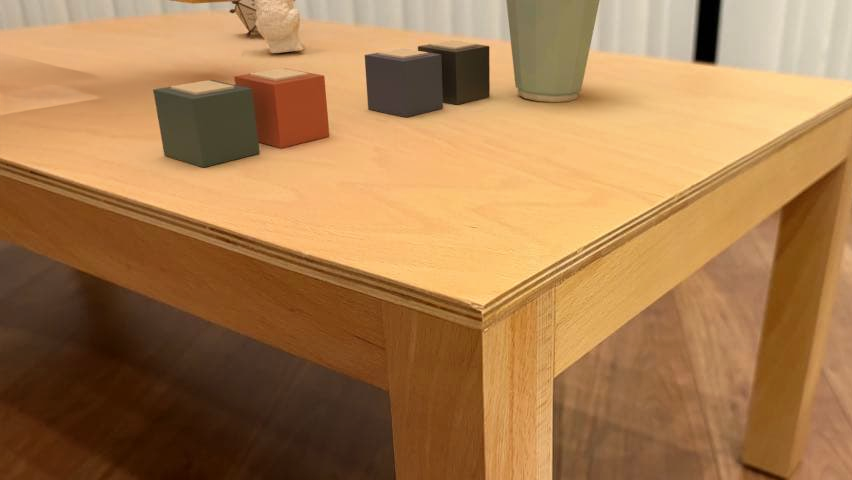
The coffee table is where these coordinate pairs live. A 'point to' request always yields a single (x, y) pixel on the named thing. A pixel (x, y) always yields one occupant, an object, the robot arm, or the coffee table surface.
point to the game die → (246, 14)
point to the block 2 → (287, 106)
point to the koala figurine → (279, 25)
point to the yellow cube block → (201, 1)
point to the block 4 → (462, 70)
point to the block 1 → (207, 122)
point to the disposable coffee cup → (550, 46)
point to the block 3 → (404, 82)
